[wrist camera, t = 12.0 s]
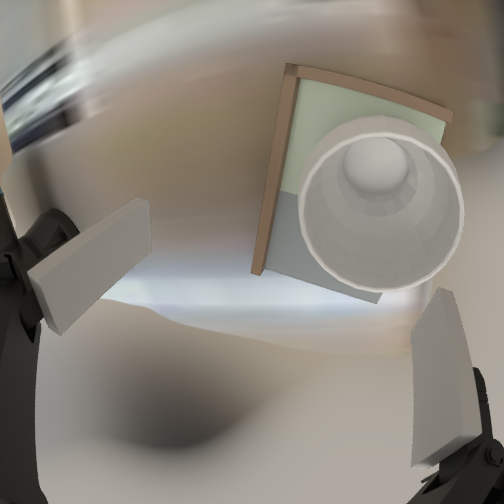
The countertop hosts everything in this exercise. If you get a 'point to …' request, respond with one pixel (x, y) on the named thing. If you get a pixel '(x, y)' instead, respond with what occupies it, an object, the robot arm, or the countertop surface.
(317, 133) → the rail board
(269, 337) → the countertop surface
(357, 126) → the cup
